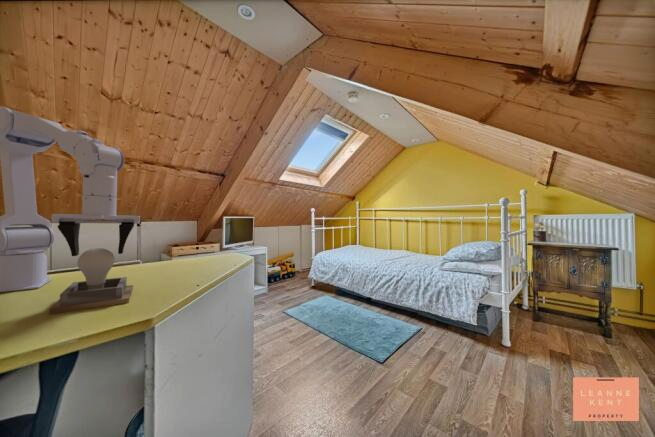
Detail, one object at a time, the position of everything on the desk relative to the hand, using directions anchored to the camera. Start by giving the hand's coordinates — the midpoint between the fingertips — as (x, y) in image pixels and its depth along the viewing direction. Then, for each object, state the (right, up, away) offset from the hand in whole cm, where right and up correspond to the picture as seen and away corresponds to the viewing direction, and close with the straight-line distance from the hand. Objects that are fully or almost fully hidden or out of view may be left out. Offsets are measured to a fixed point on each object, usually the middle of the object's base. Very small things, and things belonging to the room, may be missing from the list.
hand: (98, 254), depth 55 cm
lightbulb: (0, -10, -1) cm, 10 cm away
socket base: (0, -10, -1) cm, 10 cm away
